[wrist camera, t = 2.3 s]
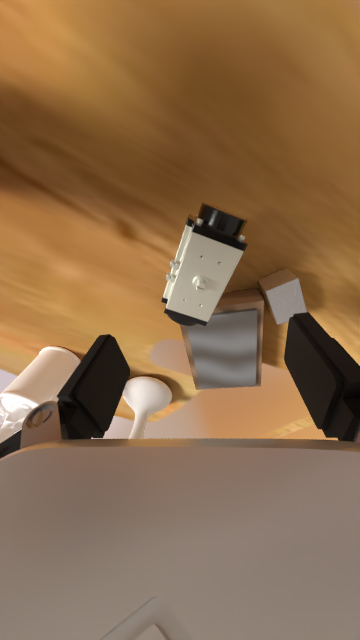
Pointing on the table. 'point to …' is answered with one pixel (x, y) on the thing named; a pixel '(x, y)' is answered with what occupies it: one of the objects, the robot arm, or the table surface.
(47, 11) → the table surface
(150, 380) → the flower in vase
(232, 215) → the pneumatic valve
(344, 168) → the table surface
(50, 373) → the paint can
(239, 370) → the stand
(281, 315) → the grey rectangular block
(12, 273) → the table surface
